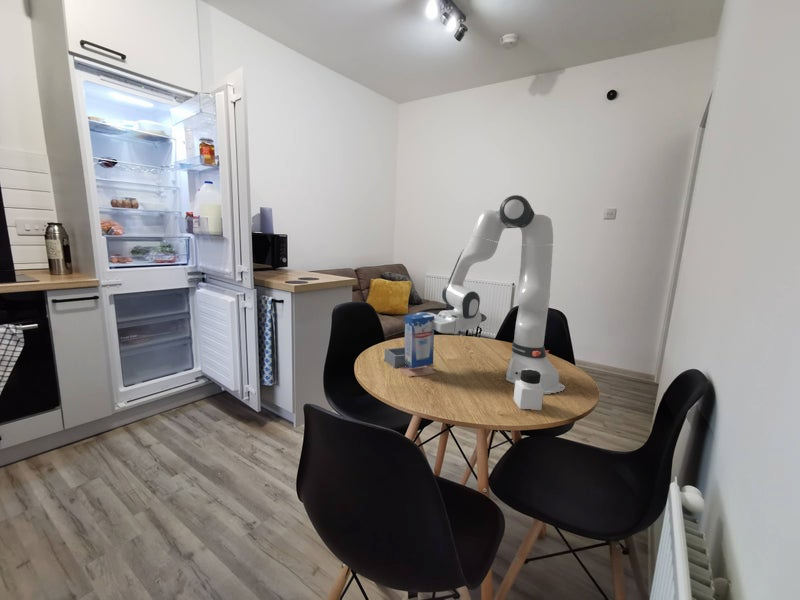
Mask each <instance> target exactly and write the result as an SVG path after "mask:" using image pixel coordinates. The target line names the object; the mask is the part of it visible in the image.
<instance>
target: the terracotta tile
mask: <svg viewBox="0 0 800 600" xmlns="http://www.w3.org/2000/svg"><path fill="white" fill-rule="evenodd" d="M397 369H398V370H399V371H400V372H401V371H402V372H401V373H402V374H404V375H405V374H406V375H405V376H407V377H408V378H413V377H412V376H414V377H419V375H420V376H427V375H432V374H436V370H433V369H431V368H430V367H428V365H426V366H421V367H417V368H411V367H409V366H407V367H399V368H397ZM426 374H427V375H426Z"/></svg>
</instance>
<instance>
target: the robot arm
mask: <svg viewBox="0 0 800 600" xmlns="http://www.w3.org/2000/svg"><path fill="white" fill-rule="evenodd" d="M517 228H518V229H520V231H521V248H520V249H521V251H520V252H521V253H520V266H519V267H520V268H519V276H518V277H519V278H518V290H517V301H518V310H517V315H516V321H515V328H514V336H513V337H514V339H513V341H512V344H511V351H512V352H511V357H510V360H509V366H508V368H507V371H506V372H505V375H506V377H505V381H508V382H510V383H512V384H514V385H515V381H516V380H518V381H520V378H521V371H522V370H523V369H533V370H536V371H538V372H539V373H540V374H541V377H540V386H541V388H542V389H543V390H544V395H552V394H551V393H554V394H557V393H556V392H559V393H561V392H560V391H562V392H564V391H565V390H564V389H566V386H565V385H564V384H562V383H561V382H560V375H559V371H558V369H556V367H555V366H554V364H552V362H551V361H550V360H549V359H548V357H547V354H549V353H550V352H549V351H550V349H549V350H546V347H545V345H544V344H545V336H546V329H547V320H548V313H549V307H550V306H549V305H550V296H551V283H552V282H551V281H552V267H553V266H552V265H553V252H554V251H553V248H554V231H553V222H552V219H551V218H550V217H549V216H547V215H544V214H538V213H537V214H536V213H535V211H534V210H533V207H532V205H531V203H530V202H529V201H528V199H527V198H526V197H524V196H522V195H518V194H514V195H510V196H508V197H506V198H505V199H504V200H502V203H501V204H500V206H499V210H484V211H482V212H481V213H480V214H479V216H478V218H477V220H476V222H475V224H474V227H473V230H472V232H471V236H470V238H469V241H468V243H467V245H466V246H465V248H464V249H462V251H461V253H460V254H459V255H458V258H457V260H456V263H455V265H454V268H453V270H452V272H451V275H450V277H449V279H448V281H447V283H446V284H445V286H444V287H443V289H442V292H441V293H442V295H441V296H442V301H444V303H445V304H446V305H449V306H451V307H453V309H448V310H441V311H439V312H438V314H435V313H433V312H427V313H428V314H430V315H433V316H434V320H432V322H433V323H432V322H428V327H431V328H432V329H434V331H436V332H438V333H441V334H452V335H458V334H459V331H469V330H474V329H476V328H477V327H479V326H480V324H481V322H482V318H483V317H482V314H481V312H480V303H481V298H480V295H479V293H477V292H476V291H474V290H472V289H470V288H467V287H466V286H464V281H465V279H466V277H467V276H468V275H467V274H468V272H469V270H470V269H471V267H472V266H473V265H474V264H476V263H480V262H482V263H483V262H486V261H488V260H490V259H492V257H494V256H495V253H496V252H497V248H498V245H499V242H500V239H501V236H502V233H503V231H504V230H505V229H517ZM420 313H421V312H416V313H415V314H420ZM432 326H433V327H432ZM563 390H564V391H563Z"/></svg>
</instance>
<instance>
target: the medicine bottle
mask: <svg viewBox="0 0 800 600" xmlns="http://www.w3.org/2000/svg"><path fill="white" fill-rule="evenodd" d="M540 377H541V374H540V373H539V372H538V371H536V370H533V369H523V370H522V371H521V378H520V381H518V380H516V381H515V384H514V392H513V398H512V399H513V401H514V402H515V404H516V406H517V407H518V408H519V409H520V410H525V409H531V410H530V411H542V410H543V409H542V408H543V400H544V395H545V394H544V390H543V389H542V388H541V386H540Z"/></svg>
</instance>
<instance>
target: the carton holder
mask: <svg viewBox="0 0 800 600" xmlns="http://www.w3.org/2000/svg"><path fill="white" fill-rule="evenodd" d="M383 360H384V361H385V362H386V363H387V364H389V365H390V366H391V367H392V366H393V369H398V367H399V368H400V367H405V366H408V365H407V364H405V346H402V347H393V348H385V349H384V359H383Z"/></svg>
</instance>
